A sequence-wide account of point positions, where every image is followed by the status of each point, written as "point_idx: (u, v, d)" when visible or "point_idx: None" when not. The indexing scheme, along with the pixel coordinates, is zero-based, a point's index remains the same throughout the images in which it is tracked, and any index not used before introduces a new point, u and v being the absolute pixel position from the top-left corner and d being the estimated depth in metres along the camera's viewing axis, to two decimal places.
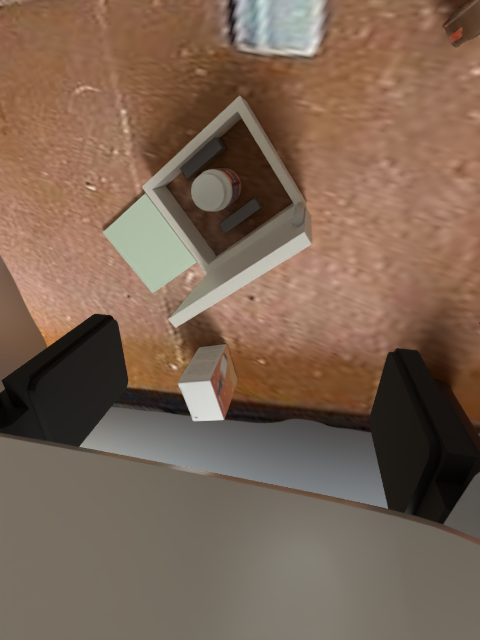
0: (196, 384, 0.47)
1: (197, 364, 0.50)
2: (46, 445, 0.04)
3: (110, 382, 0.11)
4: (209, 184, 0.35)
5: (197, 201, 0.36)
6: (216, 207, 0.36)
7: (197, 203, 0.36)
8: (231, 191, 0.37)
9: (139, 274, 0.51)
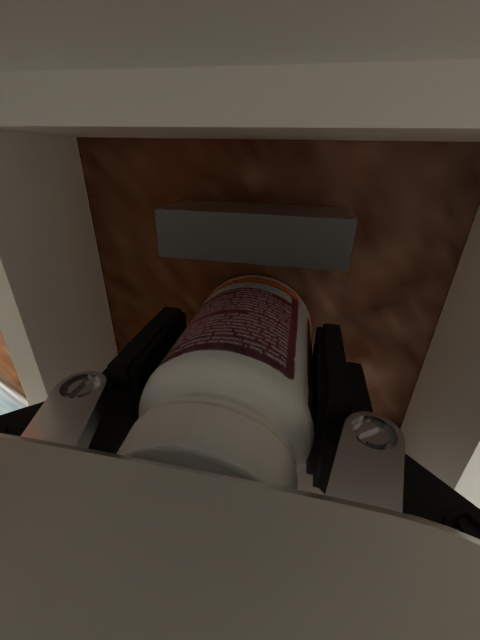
0: None
1: None
2: (46, 445, 0.04)
3: None
4: None
5: None
6: (192, 455, 0.05)
7: None
8: (150, 381, 0.08)
9: None
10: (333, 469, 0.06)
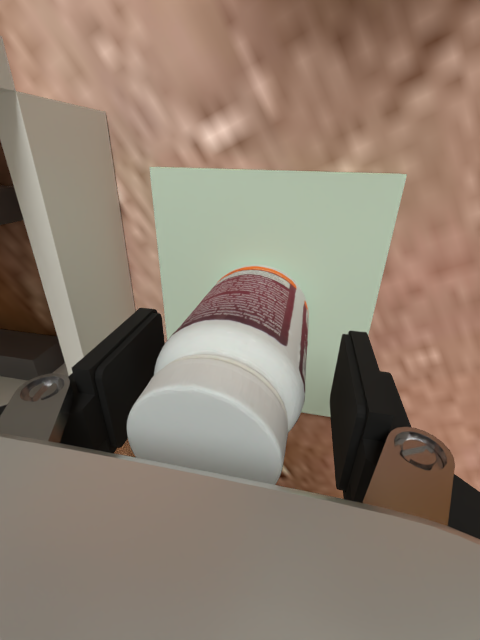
0: None
1: None
2: (46, 445, 0.04)
3: None
4: (173, 461, 0.08)
5: (264, 464, 0.07)
6: (200, 393, 0.07)
7: (270, 461, 0.07)
8: (164, 347, 0.09)
9: (373, 272, 0.13)
10: (382, 493, 0.05)
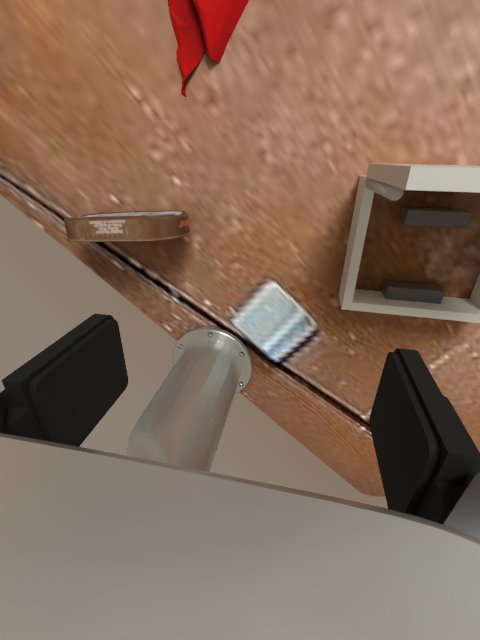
0: None
1: None
2: (46, 445, 0.04)
3: (110, 382, 0.11)
4: None
5: None
6: None
7: None
8: None
9: None
10: None
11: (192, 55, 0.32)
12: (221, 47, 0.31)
